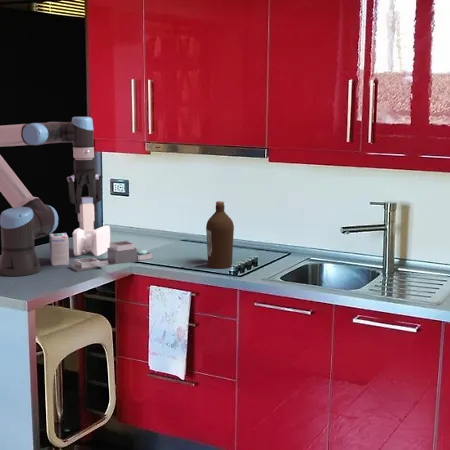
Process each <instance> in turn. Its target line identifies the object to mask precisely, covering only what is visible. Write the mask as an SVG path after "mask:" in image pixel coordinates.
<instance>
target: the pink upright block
mask: <svg viewBox="0 0 450 450" xmlns="http://www.w3.org/2000/svg"><path fill="white" fill-rule="evenodd" d="M80 204H81V205H82V217H83V222H79V228H80V229H81V230H92V229H93V230H95V226H94V225H95V221H93V198H92V197H90V196H81V200H80Z"/></svg>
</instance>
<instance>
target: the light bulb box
mask: <svg viewBox="0 0 450 450" xmlns="http://www.w3.org/2000/svg"><path fill="white" fill-rule="evenodd" d="M48 236H49V257H50V258H49V260H50V263H51V266H65V265H67V266H68V265H69V266H70V255H69V254H70V249H69V247H70V245H69V244H70V243H69V236H68V234H67V232H61V233H60V232H59V233H51V234H49V235H48Z"/></svg>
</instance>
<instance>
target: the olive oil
mask: <svg viewBox="0 0 450 450" xmlns="http://www.w3.org/2000/svg"><path fill="white" fill-rule="evenodd" d="M205 230H206V231H205V233H206V248H207V249H206V250H207V252H206V254H207V266H208V267H209V268H211V269H221V270H222V269H228V268H231V267H232V266H233V251H234V231H235V225H234V222H233V220H232V218H231V217H230V216H229V215H228V214H227V213H226V211H225V201H222V200H221V201H220V200H219V201H216V202H215V212H214V213H213V214H212V215H211V216H210V217H209V218H208V220H207V222H206V225H205ZM231 265H232V266H231Z"/></svg>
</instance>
